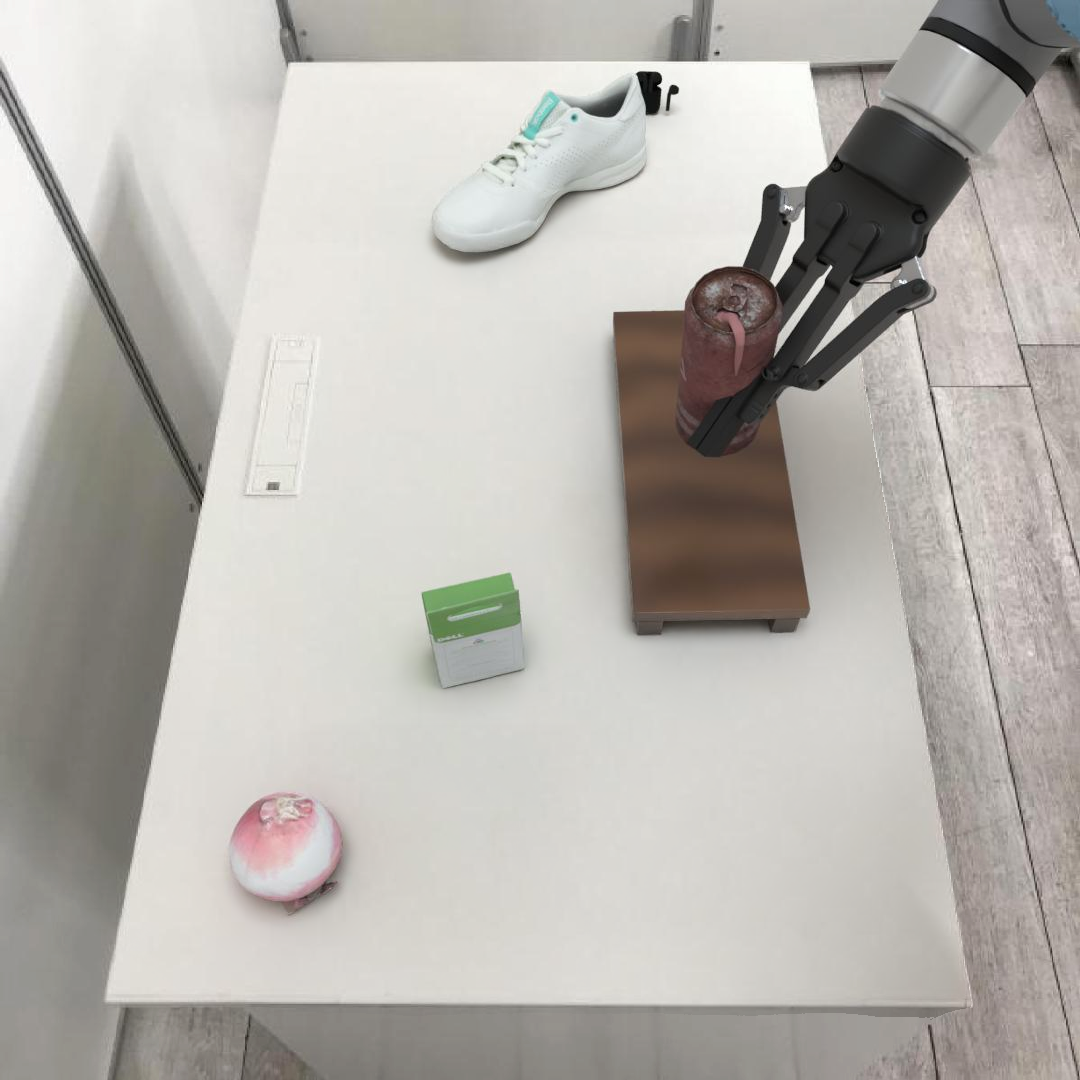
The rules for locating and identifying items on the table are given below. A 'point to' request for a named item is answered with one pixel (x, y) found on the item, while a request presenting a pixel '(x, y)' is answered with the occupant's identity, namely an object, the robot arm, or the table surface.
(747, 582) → the shelf
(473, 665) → the ink box
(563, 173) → the running shoe
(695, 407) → the can
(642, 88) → the wireless earbuds
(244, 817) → the onion
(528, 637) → the table surface
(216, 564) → the table surface
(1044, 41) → the robot arm
